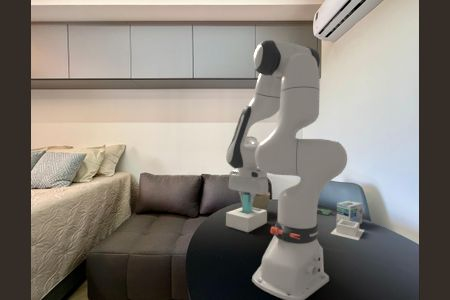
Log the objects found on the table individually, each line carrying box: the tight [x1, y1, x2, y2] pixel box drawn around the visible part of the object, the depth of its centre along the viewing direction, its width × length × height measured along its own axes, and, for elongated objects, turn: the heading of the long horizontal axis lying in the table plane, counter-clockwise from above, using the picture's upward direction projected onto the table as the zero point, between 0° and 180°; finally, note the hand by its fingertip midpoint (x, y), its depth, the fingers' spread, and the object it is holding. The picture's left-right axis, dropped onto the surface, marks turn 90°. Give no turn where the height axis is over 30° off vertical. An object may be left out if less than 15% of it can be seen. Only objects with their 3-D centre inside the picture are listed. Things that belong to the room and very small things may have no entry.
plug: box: [241, 192, 253, 214], centre depth 108 cm, size 4×3×12 cm
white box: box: [225, 206, 268, 233], centre depth 108 cm, size 16×12×6 cm
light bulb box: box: [336, 200, 364, 225], centre depth 108 cm, size 11×7×11 cm, turn 123°
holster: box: [330, 219, 365, 241], centre depth 96 cm, size 14×10×5 cm
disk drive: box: [317, 207, 333, 217], centre depth 126 cm, size 10×3×15 cm
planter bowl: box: [240, 192, 271, 210], centre depth 126 cm, size 16×16×11 cm
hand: (247, 201), depth 108 cm, fingers closed on plug, 3 cm apart
